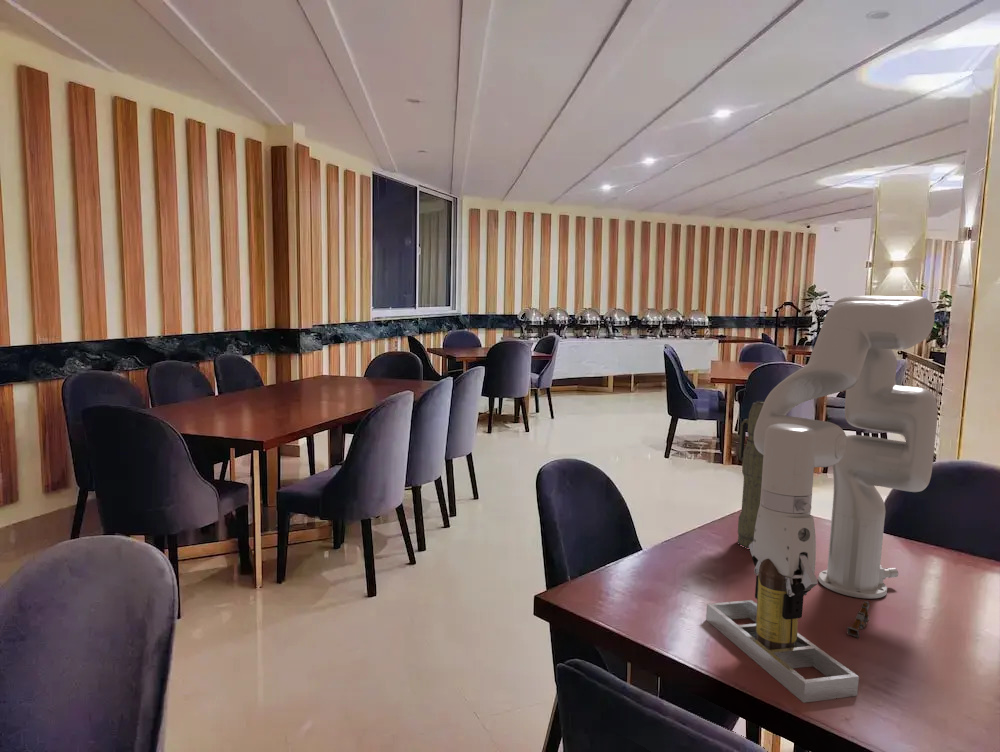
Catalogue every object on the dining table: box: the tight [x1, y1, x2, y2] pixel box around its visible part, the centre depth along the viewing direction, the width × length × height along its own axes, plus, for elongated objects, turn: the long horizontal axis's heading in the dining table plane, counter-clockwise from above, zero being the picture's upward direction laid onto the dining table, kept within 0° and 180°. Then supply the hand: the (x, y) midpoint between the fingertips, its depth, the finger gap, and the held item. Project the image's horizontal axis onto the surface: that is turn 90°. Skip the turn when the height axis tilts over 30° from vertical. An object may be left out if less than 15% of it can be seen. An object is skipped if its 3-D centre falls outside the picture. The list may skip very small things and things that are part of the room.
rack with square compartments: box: [705, 599, 860, 704], centre depth 109 cm, size 9×26×3 cm, turn 14°
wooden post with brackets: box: [846, 600, 870, 639], centre depth 118 cm, size 2×8×4 cm, turn 135°
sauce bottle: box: [756, 559, 799, 650], centre depth 108 cm, size 6×6×20 cm
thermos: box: [737, 400, 765, 548], centre depth 158 cm, size 9×12×35 cm
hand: (777, 607), depth 108 cm, fingers open, 6 cm apart
